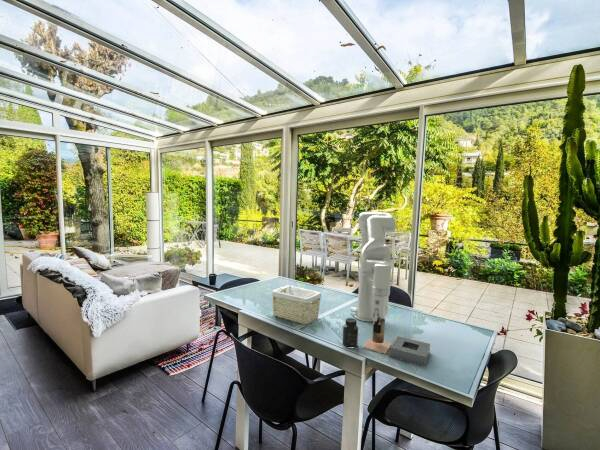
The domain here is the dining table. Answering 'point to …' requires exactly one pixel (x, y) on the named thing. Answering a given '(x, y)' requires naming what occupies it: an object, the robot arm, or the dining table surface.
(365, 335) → the dining table surface
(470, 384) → the dining table surface
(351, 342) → the supplement bottle
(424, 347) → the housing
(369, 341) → the tile
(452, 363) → the dining table surface
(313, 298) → the storage basket
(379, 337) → the brown cylinder
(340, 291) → the dining table surface
